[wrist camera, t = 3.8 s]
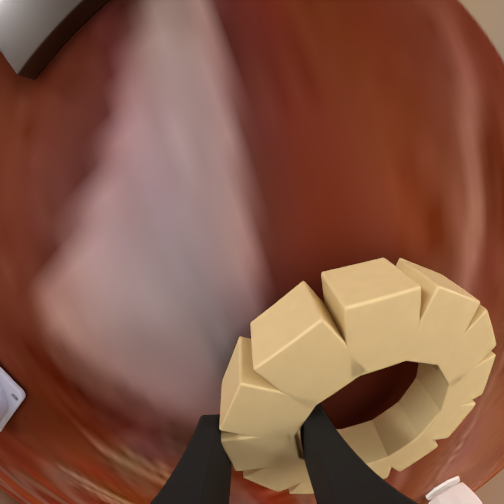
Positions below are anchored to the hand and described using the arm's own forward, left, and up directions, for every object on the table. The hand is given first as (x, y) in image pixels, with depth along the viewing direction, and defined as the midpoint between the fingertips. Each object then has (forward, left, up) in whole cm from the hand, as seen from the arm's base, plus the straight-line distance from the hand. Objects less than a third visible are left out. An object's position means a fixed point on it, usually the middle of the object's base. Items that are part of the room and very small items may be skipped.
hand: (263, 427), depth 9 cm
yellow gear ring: (+3, -2, -1) cm, 4 cm away
